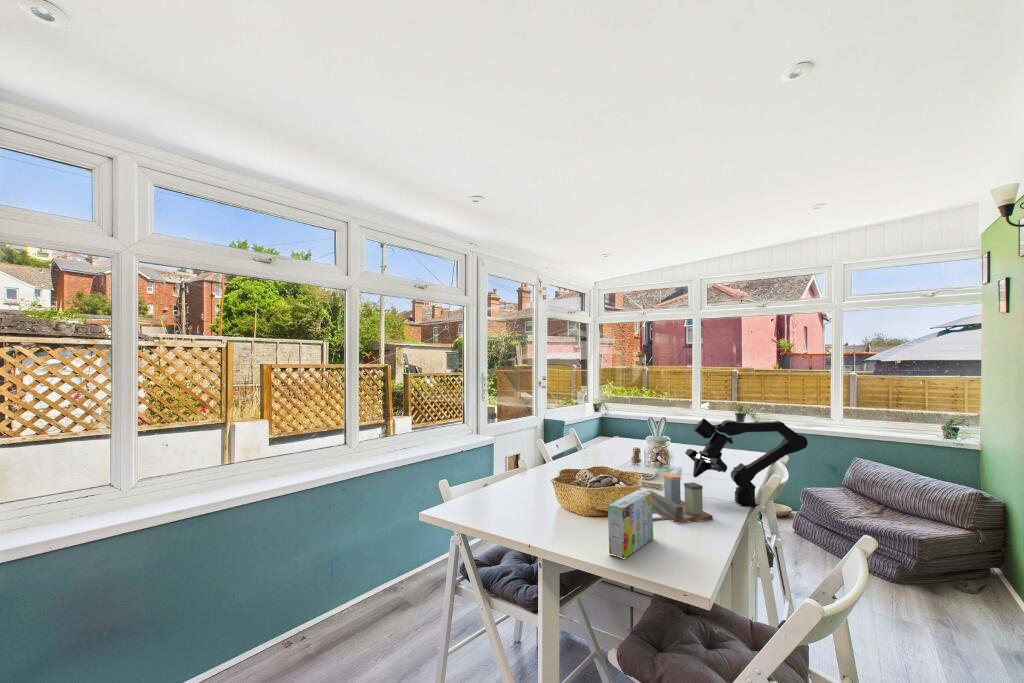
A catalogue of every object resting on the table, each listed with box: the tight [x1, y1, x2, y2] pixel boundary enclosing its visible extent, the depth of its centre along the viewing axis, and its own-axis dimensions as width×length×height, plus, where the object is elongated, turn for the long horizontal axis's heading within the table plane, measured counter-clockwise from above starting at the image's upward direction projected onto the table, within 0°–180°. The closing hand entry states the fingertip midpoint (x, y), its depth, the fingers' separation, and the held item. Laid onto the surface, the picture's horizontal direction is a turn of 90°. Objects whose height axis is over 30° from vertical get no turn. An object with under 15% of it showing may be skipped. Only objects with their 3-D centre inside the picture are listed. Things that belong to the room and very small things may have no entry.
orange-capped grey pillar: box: [663, 473, 682, 503], centre depth 185 cm, size 4×5×10 cm
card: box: [652, 508, 670, 521], centre depth 175 cm, size 8×14×1 cm, turn 13°
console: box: [646, 490, 714, 523], centre depth 177 cm, size 15×22×6 cm
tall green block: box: [683, 481, 704, 515], centre depth 171 cm, size 4×5×10 cm
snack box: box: [607, 489, 654, 559], centre depth 144 cm, size 21×6×15 cm, turn 141°
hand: (694, 476), depth 187 cm, fingers closed
